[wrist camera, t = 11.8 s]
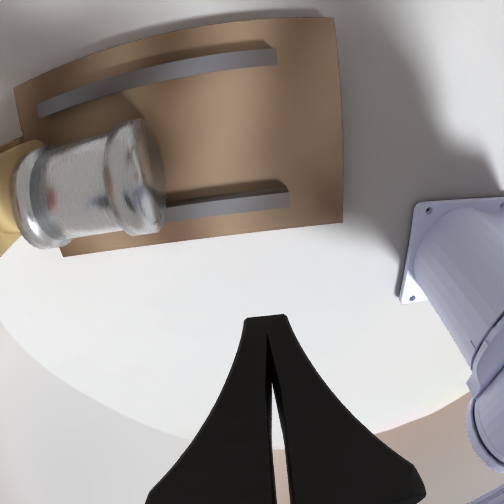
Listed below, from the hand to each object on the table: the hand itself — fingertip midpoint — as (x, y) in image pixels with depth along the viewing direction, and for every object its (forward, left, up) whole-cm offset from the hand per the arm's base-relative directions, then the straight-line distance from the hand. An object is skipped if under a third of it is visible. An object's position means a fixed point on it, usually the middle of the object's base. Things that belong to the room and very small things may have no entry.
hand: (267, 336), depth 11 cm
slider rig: (+6, -5, -9) cm, 12 cm away
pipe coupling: (+7, -6, -8) cm, 12 cm away
